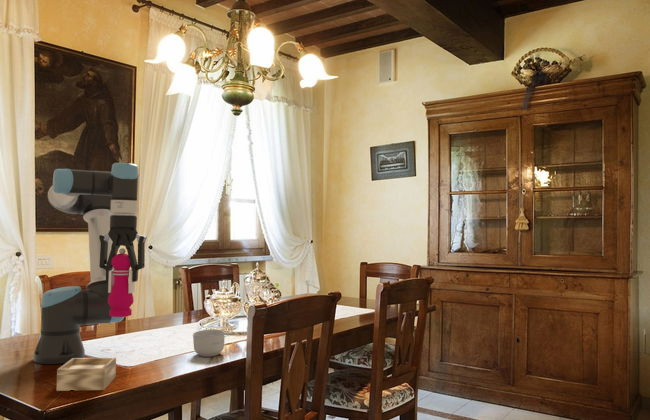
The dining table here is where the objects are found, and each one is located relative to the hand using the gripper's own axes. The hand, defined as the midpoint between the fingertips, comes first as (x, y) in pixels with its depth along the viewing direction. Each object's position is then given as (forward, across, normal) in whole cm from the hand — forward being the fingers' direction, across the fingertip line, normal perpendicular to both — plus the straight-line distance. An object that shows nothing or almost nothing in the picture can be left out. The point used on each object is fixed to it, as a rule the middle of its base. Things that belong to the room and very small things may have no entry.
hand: (121, 292), depth 159 cm
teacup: (+25, +21, +29) cm, 43 cm away
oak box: (+25, -6, -8) cm, 27 cm away
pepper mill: (+7, 0, 0) cm, 7 cm away
